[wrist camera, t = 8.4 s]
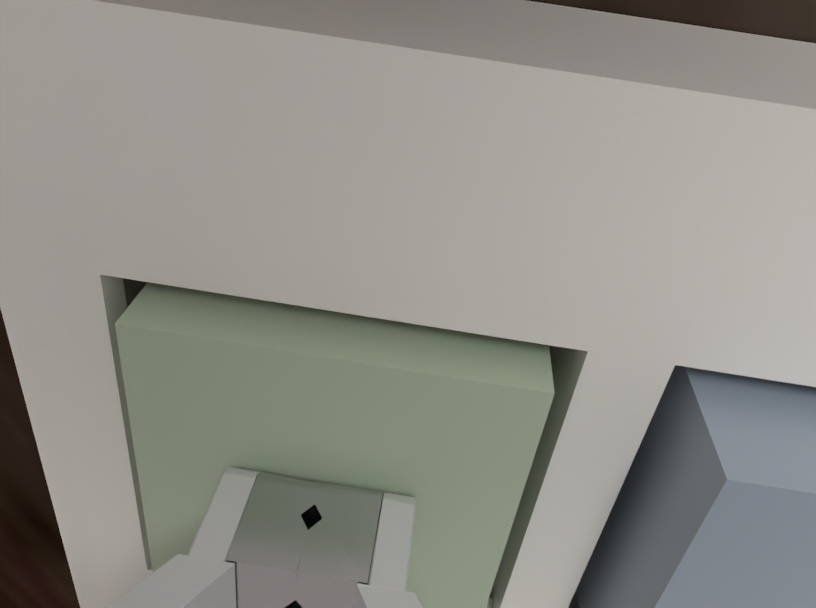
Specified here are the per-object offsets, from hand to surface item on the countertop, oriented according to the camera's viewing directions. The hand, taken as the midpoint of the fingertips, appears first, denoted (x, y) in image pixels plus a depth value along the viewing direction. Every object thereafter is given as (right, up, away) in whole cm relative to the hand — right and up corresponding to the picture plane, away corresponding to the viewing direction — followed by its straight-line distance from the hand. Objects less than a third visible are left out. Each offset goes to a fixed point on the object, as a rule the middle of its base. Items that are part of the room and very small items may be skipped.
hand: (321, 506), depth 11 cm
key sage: (0, +2, +3) cm, 3 cm away
